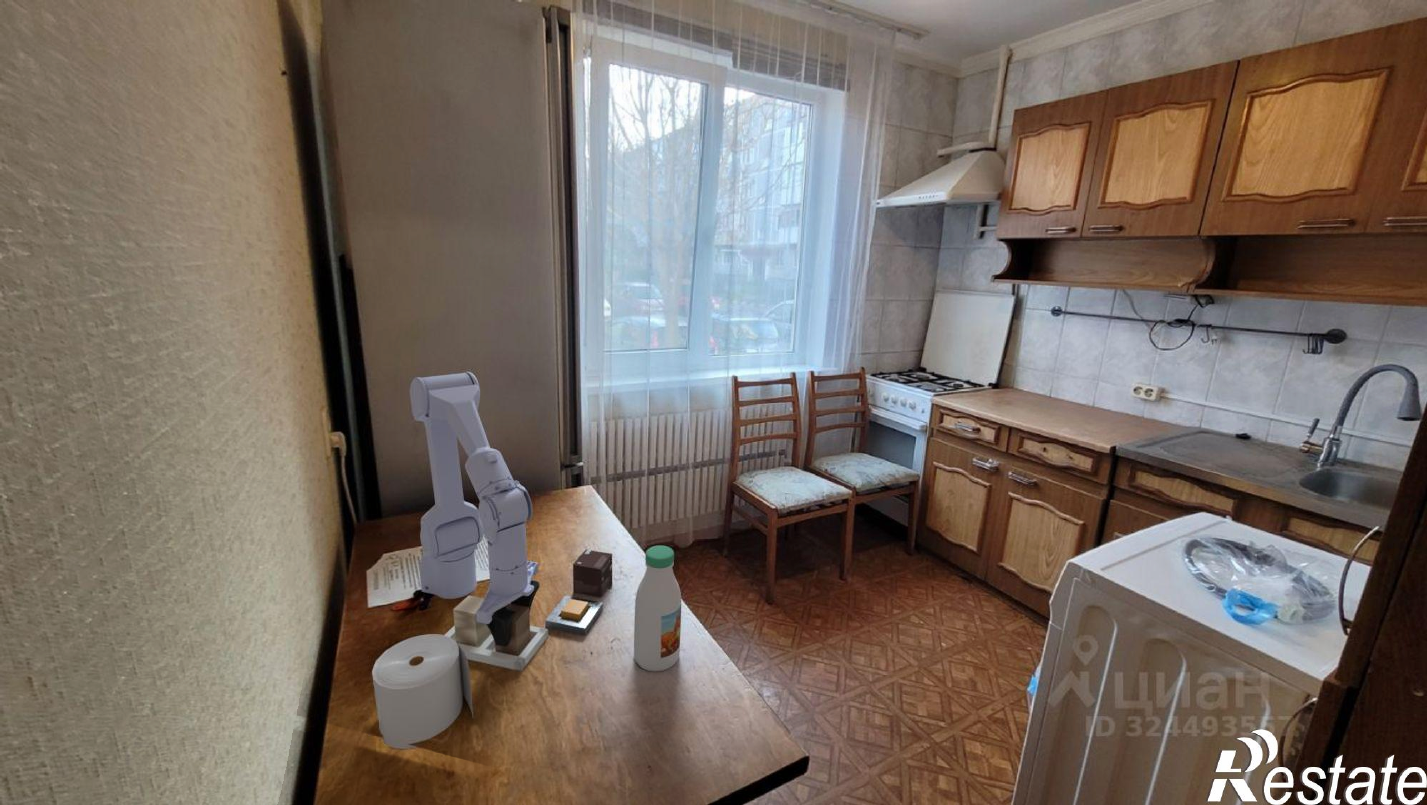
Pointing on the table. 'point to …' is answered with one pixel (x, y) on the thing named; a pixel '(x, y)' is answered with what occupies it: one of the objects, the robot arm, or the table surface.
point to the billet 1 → (469, 623)
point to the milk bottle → (657, 612)
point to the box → (592, 573)
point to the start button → (574, 610)
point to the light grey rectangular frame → (492, 657)
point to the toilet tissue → (420, 688)
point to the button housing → (572, 625)
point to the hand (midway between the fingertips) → (511, 633)
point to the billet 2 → (517, 631)
